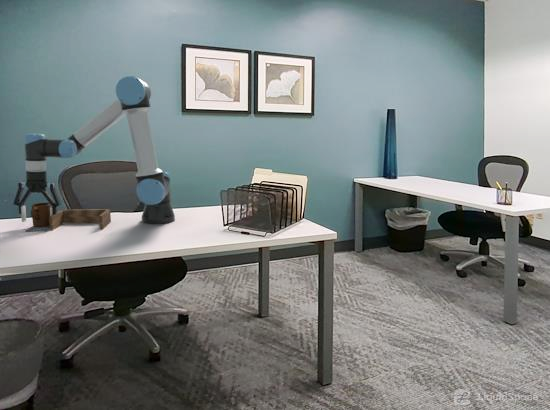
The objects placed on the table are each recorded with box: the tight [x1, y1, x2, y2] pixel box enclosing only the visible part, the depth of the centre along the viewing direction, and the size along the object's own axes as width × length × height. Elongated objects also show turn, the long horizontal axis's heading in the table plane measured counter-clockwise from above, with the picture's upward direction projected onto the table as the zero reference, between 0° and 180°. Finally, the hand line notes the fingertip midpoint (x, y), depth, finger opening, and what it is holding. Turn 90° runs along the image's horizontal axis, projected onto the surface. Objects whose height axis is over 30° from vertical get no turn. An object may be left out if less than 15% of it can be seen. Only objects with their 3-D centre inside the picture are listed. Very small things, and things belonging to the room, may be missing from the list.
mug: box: [30, 202, 52, 227], centre depth 187 cm, size 12×8×9 cm, turn 2°
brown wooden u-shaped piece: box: [49, 208, 112, 231], centre depth 192 cm, size 21×15×6 cm
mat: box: [25, 225, 51, 233], centre depth 188 cm, size 9×13×1 cm, turn 8°
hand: (38, 221), depth 187 cm, fingers open, 11 cm apart
